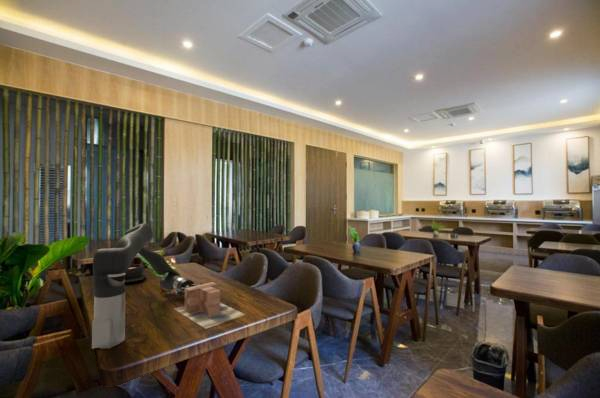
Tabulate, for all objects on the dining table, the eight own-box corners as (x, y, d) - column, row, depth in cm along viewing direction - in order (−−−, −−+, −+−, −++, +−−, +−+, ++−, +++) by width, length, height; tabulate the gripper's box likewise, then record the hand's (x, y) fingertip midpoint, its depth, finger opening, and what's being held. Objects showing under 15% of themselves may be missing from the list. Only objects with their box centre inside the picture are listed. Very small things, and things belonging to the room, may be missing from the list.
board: (173, 310, 129) (173, 308, 129) (211, 300, 143) (211, 298, 143) (205, 330, 109) (205, 328, 109) (245, 316, 123) (245, 314, 123)
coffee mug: (115, 296, 147) (116, 277, 147) (102, 295, 149) (102, 276, 149) (133, 289, 158) (133, 272, 158) (120, 288, 160) (120, 271, 160)
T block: (184, 310, 127) (184, 288, 127) (212, 302, 137) (212, 281, 137) (199, 319, 117) (199, 295, 117) (228, 310, 128) (228, 288, 128)
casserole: (108, 278, 181) (108, 265, 181) (140, 273, 194) (140, 261, 194) (115, 287, 163) (116, 272, 163) (151, 281, 175) (151, 267, 175)
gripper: (169, 281, 138) (184, 288, 127) (197, 275, 148) (213, 281, 137) (169, 296, 138) (184, 304, 127) (196, 289, 148) (212, 297, 137)
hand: (199, 292), depth 132 cm, fingers open, 8 cm apart
